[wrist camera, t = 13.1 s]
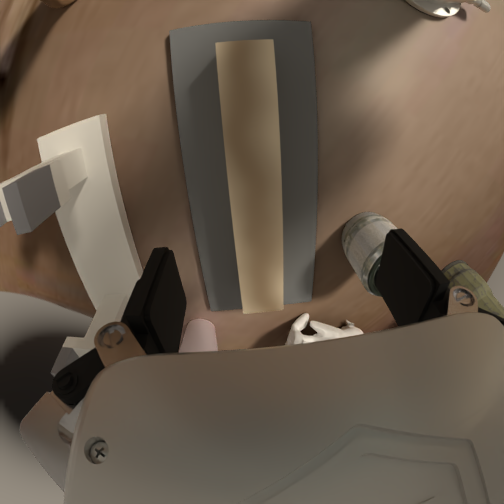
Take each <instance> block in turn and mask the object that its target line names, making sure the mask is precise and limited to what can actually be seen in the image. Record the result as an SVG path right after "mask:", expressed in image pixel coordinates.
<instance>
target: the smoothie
mask: <svg viewBox="0 0 504 504" xmlns="http://www.w3.org/2000/svg"><path fill="white" fill-rule="evenodd" d="M203 351H218V348H217V341H216V332H215V326H214V325H213V324H212V323H211V322H210V321H208V320H205V319H194V320H191V321H190V322H189V323H188V325H187V328H186V331H185V334H184V337H183V340H182V343H181V347H180V350H179V353H180V352H203Z"/></svg>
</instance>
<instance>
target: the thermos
mask: <svg viewBox="0 0 504 504" xmlns="http://www.w3.org/2000/svg"><path fill="white" fill-rule="evenodd" d="M442 273H443V274H444V275H445V276H446V277H447V279H448V280H449V281H450V284H449V286H448V288H449V289H450V290H451V288H452V287H454V286H463V287H465V288H468V289H469V290H471V291H472V292H473V293H474V294H475V296H476V298H477V301H478V307H479V308H482V309H484V310H486V311H488V312H491V313H493V314H495V315H497V316H500V317H502V318H504V308H503V306H502V305H501V304H500V303H499V302H498V301H497V299H496V298H495V297H494V296H493V294H492V291H491V289H490V288H489V286H488V285H487V283H486V282H485V281H484V279H483V278H482V277H481V276H480V275H479V274H478V273H477V272H476V271H474V270H473V269H471V268H470V267H469V266H468V264H467V263H465V262H464V261H462V260H457V261H454V262H452V263H450V264H449V265H447V266H446V267H445V268H444V269H443V270H442Z"/></svg>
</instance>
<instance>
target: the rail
mask: <svg viewBox="0 0 504 504" xmlns="http://www.w3.org/2000/svg"><path fill="white" fill-rule="evenodd" d="M215 46H216V58H217V71H218V82H219V94H220V105H221V116H222V126H223V137H224V147H225V157H226V167H227V176H228V186H229V195H230V205H231V214H232V223H233V232H234V240H235V249H236V258H237V266H238V274H239V283H240V291H241V299H242V307H243V314H248V313H258V312H268V311H278V310H283V211H282V177H281V151H280V130H279V112H278V95H277V80H276V66H275V53H274V41H273V39H262V40H240V41H227V42H217V43H215Z"/></svg>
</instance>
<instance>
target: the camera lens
mask: <svg viewBox="0 0 504 504" xmlns="http://www.w3.org/2000/svg"><path fill="white" fill-rule="evenodd" d="M391 229H397V228H396V227H395V226H394V225H393V224H392V223H391V222H390V221H389V220H388V219H386V218H384V217H383V216H381V215H379V214H376V213H373V212H364V213H360V214H358V215H356V216H355V217H353V218H352V219H350V221H349V222H348V223H346V226H345V228H344V230H343V233H342V245H343V250H344V252H345V255H346V258H347V259H348V261H349V263H350V264H351V266H352V267H353V269H354V271H355V272H356V274H357V275H358V277H359V279H360V280H361V282H362V284H363V285H364V287H365V289H366V290H367V291H368V292H369V293H370V294H372V295H375V296H380V297H382V295H381V294H380V292H379V290H378V289H377V286H376V278H377V274H378V270H379V266H380V261H381V257H382V252H383V247H384V242H385V237H386V234H387V233H389V231H390V230H391Z"/></svg>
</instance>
